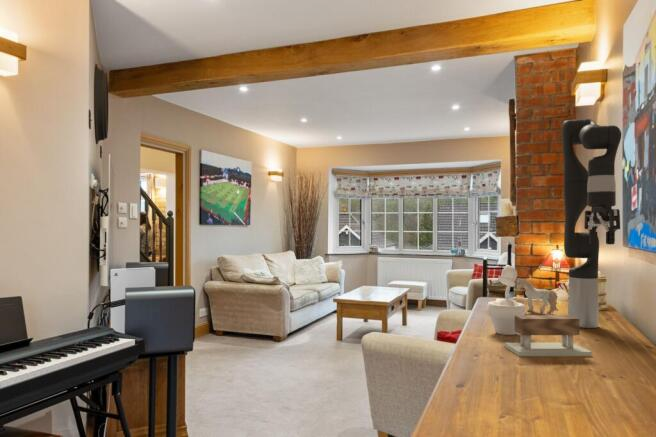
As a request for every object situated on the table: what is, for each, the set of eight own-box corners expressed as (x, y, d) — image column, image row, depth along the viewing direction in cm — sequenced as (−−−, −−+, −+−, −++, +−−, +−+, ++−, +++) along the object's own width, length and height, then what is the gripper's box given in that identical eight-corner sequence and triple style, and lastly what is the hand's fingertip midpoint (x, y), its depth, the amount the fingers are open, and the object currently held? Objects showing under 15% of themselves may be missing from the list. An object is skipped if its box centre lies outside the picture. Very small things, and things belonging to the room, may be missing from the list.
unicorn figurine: (513, 308, 202) (513, 277, 202) (562, 313, 190) (562, 280, 190) (507, 310, 196) (507, 278, 197) (558, 316, 184) (557, 282, 185)
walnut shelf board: (569, 330, 135) (569, 315, 135) (579, 335, 129) (579, 318, 130) (514, 330, 134) (514, 315, 134) (522, 335, 129) (522, 318, 129)
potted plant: (496, 327, 163) (496, 255, 163) (530, 333, 154) (530, 257, 155) (479, 333, 154) (479, 257, 154) (514, 339, 145) (514, 259, 146)
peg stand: (504, 346, 137) (504, 328, 137) (571, 346, 137) (571, 329, 137) (519, 356, 127) (519, 337, 127) (591, 356, 127) (591, 337, 127)
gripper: (628, 189, 136) (629, 244, 136) (599, 192, 150) (599, 243, 150) (603, 189, 136) (603, 244, 136) (576, 192, 150) (576, 243, 150)
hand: (601, 243), depth 143 cm, fingers open, 8 cm apart
